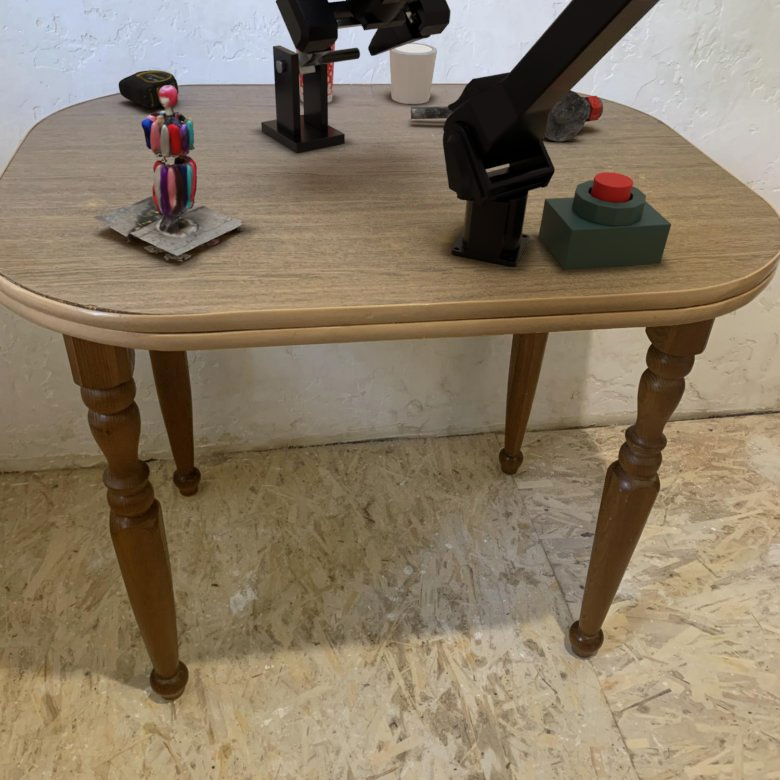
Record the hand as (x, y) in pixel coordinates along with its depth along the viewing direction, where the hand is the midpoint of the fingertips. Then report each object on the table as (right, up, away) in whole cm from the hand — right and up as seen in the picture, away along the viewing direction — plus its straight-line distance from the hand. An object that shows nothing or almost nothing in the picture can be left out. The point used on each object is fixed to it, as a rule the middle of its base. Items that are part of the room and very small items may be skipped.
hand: (337, 57), depth 87 cm
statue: (-16, -22, -10) cm, 29 cm away
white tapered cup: (+9, +5, +27) cm, 29 cm away
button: (+27, -19, -13) cm, 36 cm away
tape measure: (-27, +2, +20) cm, 34 cm away
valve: (+22, 0, +20) cm, 30 cm away
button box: (+27, -24, -10) cm, 37 cm away
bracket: (-5, -5, +12) cm, 14 cm away
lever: (-2, 0, +4) cm, 5 cm away
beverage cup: (-5, +4, +25) cm, 26 cm away
